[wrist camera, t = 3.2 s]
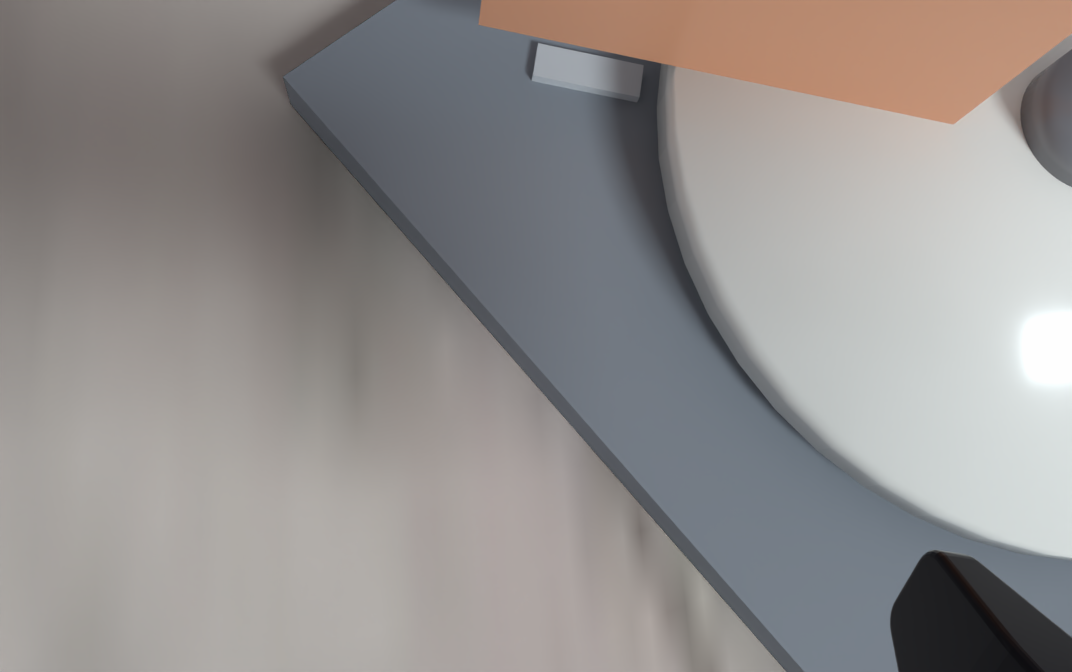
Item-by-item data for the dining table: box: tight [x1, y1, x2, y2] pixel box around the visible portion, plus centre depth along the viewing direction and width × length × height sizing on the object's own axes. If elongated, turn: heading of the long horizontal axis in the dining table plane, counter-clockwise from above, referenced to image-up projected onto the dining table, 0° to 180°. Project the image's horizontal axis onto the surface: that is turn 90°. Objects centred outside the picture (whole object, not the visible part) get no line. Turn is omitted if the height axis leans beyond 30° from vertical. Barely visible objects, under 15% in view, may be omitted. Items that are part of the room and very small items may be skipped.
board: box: [283, 0, 1072, 672], centre depth 21 cm, size 24×24×2 cm
